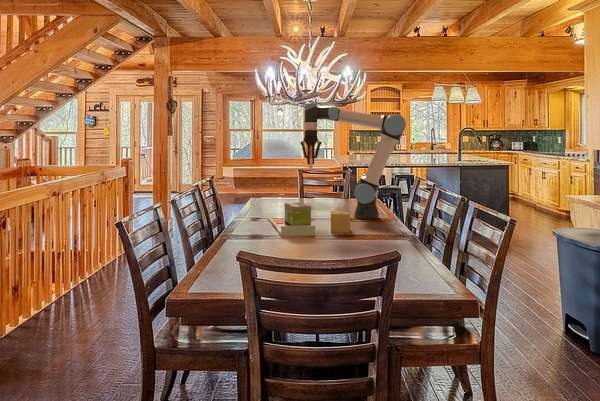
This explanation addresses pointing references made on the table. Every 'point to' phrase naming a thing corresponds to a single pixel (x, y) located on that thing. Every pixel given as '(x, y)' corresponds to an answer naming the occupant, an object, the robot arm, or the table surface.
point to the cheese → (340, 222)
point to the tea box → (297, 214)
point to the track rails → (273, 223)
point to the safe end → (297, 230)
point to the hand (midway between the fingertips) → (310, 169)
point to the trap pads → (279, 221)
